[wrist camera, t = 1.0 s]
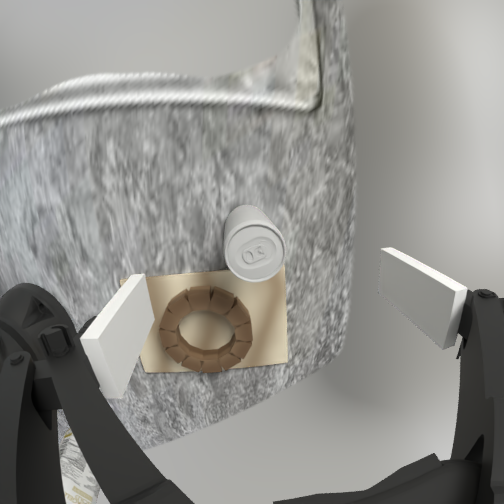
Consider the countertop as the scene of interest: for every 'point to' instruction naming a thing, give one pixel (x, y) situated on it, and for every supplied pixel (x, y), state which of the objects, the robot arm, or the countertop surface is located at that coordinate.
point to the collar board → (215, 322)
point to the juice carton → (76, 473)
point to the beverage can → (252, 245)
